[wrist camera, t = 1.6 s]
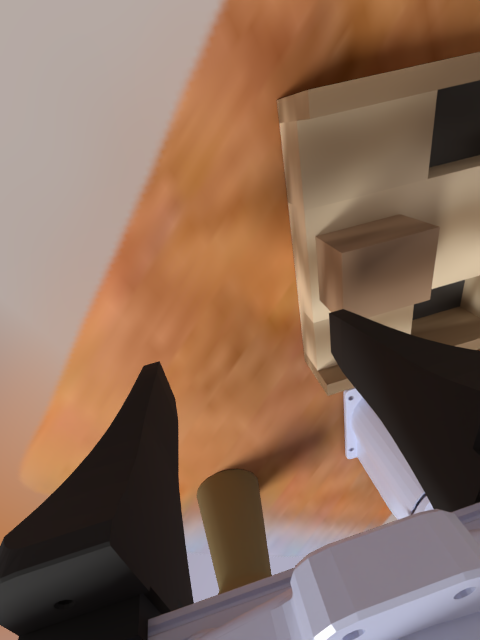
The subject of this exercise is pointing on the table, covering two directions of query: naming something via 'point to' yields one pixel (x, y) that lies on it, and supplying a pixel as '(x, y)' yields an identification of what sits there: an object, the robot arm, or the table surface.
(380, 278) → the walnut block
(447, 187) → the board
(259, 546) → the cork
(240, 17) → the table surface
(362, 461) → the robot arm
